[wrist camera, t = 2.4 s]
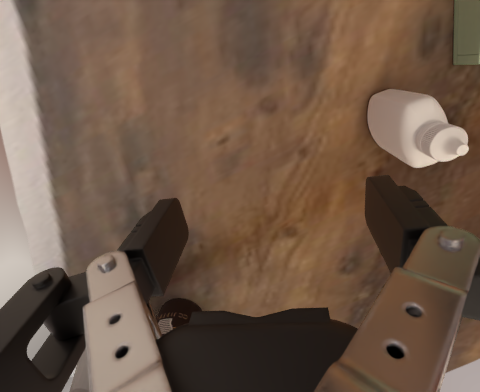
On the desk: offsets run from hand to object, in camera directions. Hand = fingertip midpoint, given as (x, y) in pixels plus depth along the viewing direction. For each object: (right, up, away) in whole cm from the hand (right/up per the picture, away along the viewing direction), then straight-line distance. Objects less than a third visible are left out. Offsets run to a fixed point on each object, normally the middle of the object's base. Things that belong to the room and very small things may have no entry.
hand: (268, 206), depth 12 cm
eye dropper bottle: (+13, +8, +16) cm, 23 cm away
